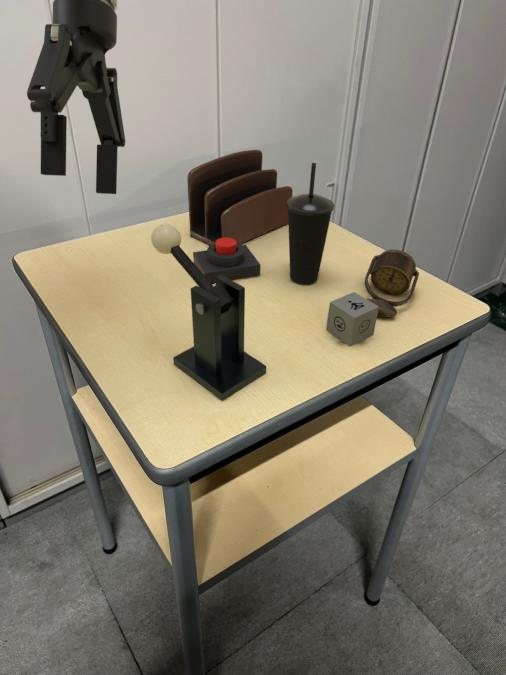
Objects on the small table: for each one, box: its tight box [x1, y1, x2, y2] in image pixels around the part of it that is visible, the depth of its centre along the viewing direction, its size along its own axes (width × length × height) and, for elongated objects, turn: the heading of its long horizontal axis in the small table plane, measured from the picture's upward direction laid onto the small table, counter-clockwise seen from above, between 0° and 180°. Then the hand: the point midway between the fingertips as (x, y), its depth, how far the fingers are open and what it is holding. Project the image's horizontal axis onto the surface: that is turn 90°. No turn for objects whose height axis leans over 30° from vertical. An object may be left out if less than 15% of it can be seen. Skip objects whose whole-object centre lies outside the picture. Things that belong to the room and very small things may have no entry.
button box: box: [192, 242, 261, 284], centre depth 91 cm, size 10×8×4 cm
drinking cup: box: [286, 162, 335, 286], centre depth 85 cm, size 8×8×20 cm
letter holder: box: [187, 149, 293, 246], centre depth 102 cm, size 10×20×14 cm, turn 136°
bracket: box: [172, 275, 267, 401], centre depth 67 cm, size 10×8×13 cm
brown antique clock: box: [363, 249, 420, 318], centre depth 84 cm, size 7×13×10 cm
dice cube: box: [325, 291, 379, 347], centre depth 76 cm, size 5×5×5 cm
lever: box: [150, 223, 234, 314], centre depth 65 cm, size 14×4×4 cm, turn 45°
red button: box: [216, 238, 236, 255], centre depth 90 cm, size 4×4×2 cm
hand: (82, 185), depth 66 cm, fingers open, 13 cm apart
